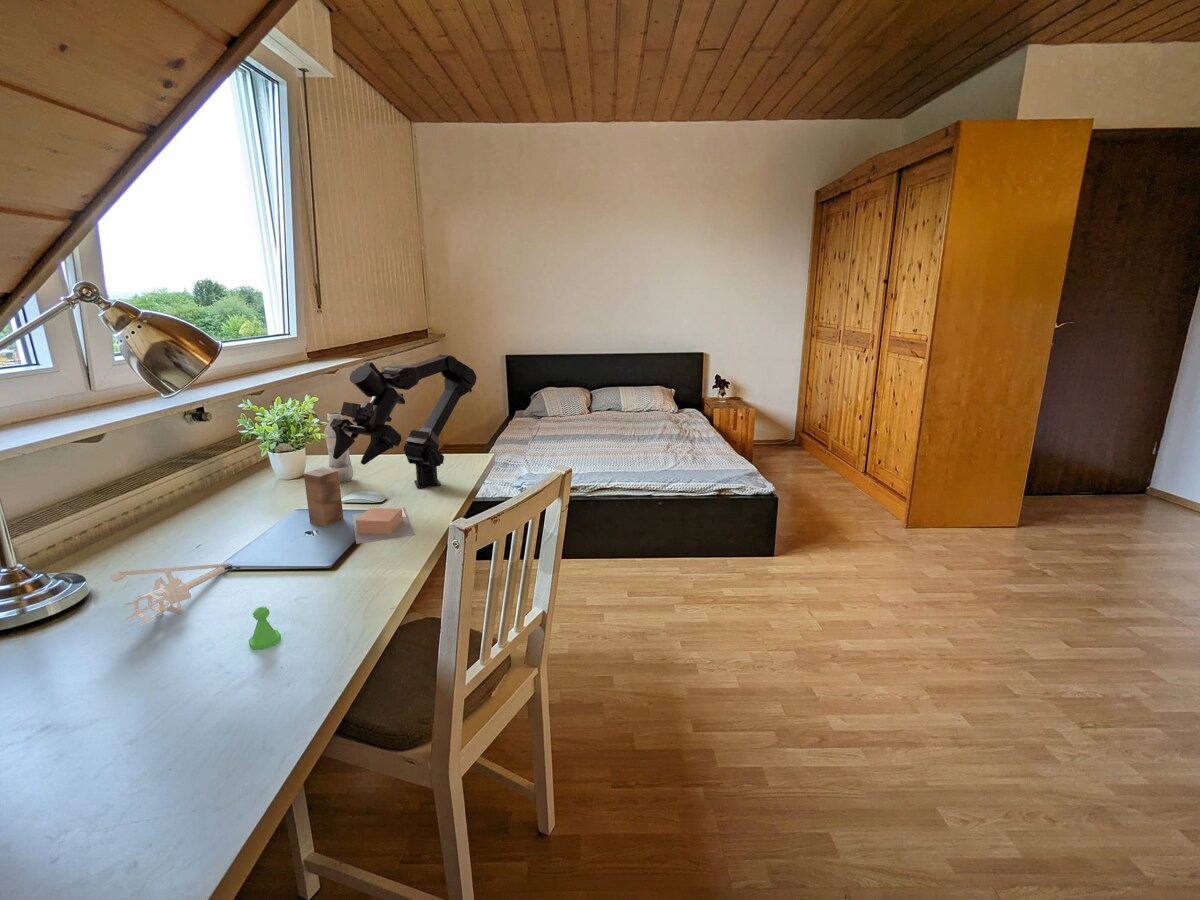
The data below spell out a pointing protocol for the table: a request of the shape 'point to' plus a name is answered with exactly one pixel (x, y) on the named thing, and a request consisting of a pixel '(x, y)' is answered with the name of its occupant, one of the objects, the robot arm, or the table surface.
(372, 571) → the table surface
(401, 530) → the base board
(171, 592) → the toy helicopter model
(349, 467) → the plastic bottle
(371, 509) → the plinth
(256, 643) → the game piece
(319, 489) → the pillar
